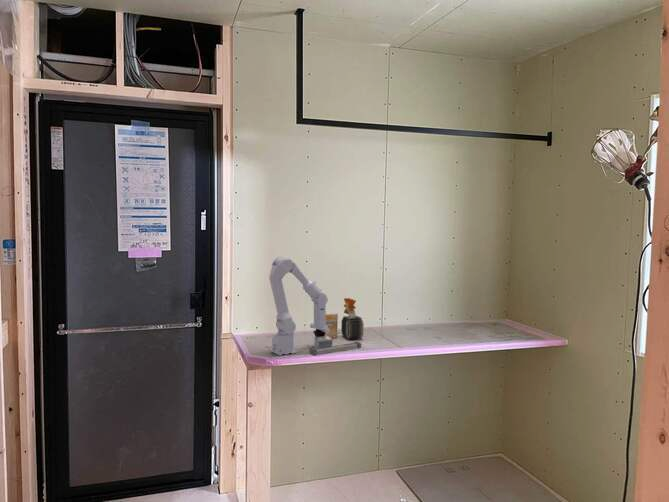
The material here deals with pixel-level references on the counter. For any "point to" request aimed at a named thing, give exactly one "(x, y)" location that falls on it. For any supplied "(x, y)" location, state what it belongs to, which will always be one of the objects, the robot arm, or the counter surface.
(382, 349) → the counter surface
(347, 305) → the bomb
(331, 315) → the supplement box
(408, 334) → the counter surface
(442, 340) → the counter surface
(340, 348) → the rail
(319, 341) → the block
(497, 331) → the counter surface
